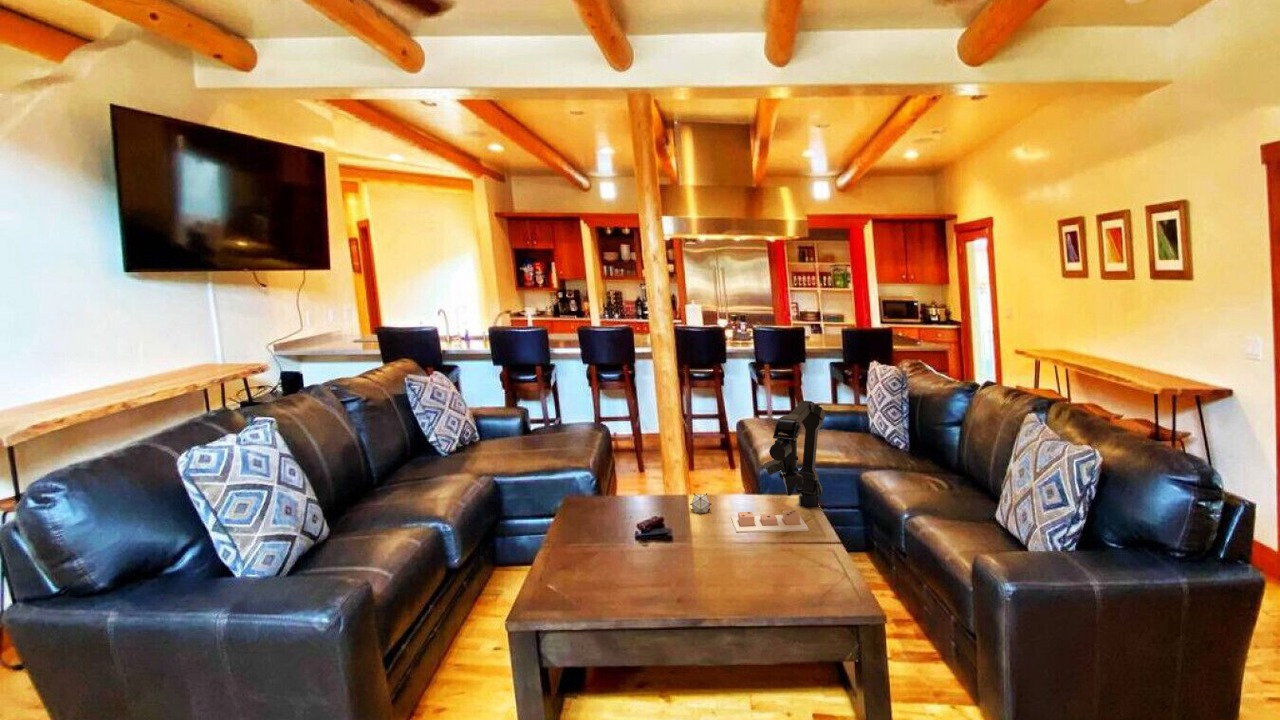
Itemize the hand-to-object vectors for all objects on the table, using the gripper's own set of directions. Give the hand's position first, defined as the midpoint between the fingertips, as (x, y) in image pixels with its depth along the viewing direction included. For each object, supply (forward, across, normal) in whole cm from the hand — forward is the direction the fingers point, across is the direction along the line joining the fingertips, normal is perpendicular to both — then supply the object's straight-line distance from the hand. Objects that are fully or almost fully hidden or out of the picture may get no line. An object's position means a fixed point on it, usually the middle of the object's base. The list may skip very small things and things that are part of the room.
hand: (789, 495), depth 215 cm
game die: (+12, -14, -31) cm, 36 cm away
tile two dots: (+10, 0, -16) cm, 19 cm away
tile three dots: (+10, 0, 0) cm, 11 cm away
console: (+12, 0, -8) cm, 14 cm away
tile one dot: (+12, 0, -8) cm, 14 cm away
